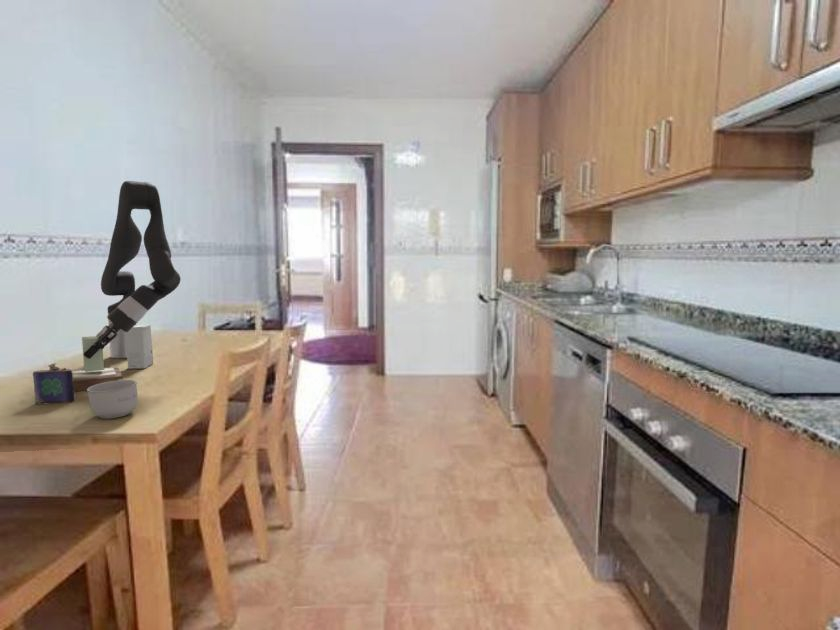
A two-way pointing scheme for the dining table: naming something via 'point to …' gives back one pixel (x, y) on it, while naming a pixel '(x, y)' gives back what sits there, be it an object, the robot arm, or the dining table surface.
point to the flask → (53, 385)
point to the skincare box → (139, 347)
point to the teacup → (113, 398)
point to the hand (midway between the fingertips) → (85, 355)
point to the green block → (96, 360)
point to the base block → (94, 377)
